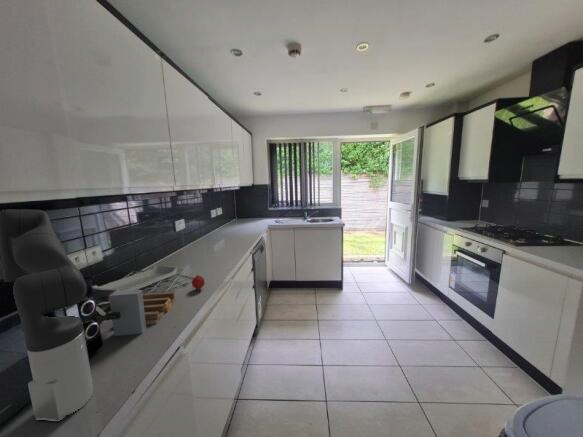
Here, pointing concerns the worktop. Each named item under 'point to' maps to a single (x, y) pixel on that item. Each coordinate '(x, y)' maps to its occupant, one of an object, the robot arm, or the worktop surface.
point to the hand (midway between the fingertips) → (127, 308)
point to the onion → (198, 282)
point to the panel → (128, 312)
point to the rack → (157, 305)
